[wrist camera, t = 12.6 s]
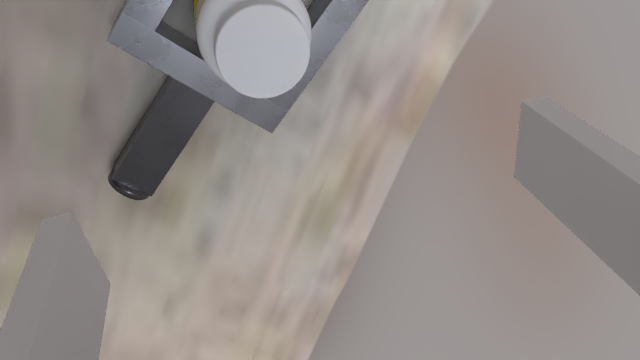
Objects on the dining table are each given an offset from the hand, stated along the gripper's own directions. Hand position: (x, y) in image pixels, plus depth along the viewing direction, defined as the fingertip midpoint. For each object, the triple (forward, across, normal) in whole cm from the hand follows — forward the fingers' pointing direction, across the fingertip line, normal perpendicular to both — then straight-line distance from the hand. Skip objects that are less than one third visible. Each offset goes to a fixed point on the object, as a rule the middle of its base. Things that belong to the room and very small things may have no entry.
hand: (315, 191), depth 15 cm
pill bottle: (+23, 0, 0) cm, 23 cm away
